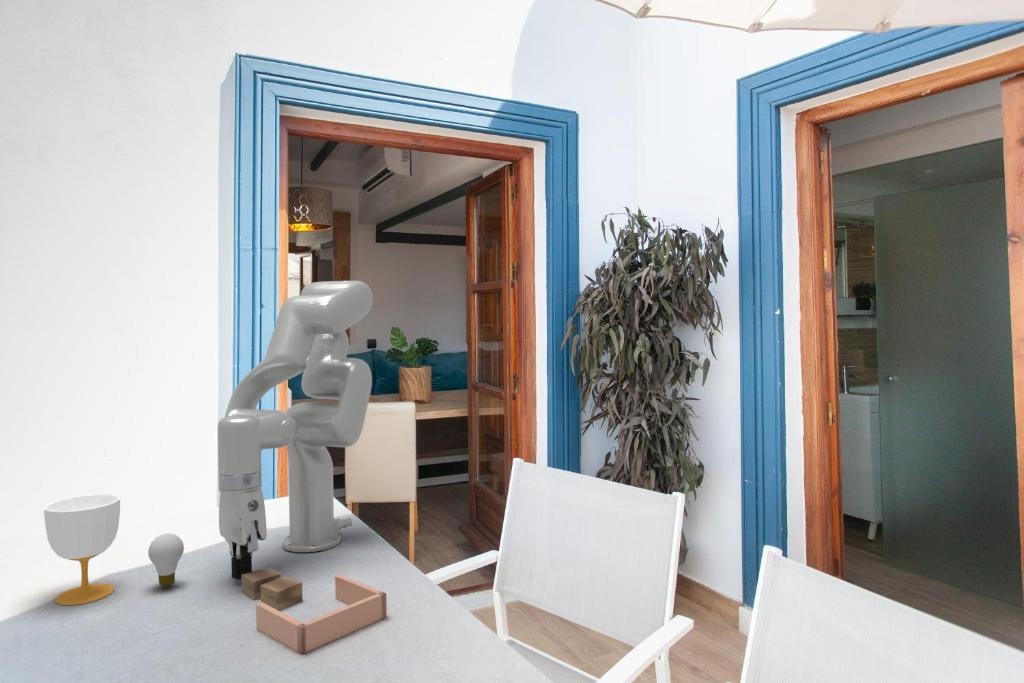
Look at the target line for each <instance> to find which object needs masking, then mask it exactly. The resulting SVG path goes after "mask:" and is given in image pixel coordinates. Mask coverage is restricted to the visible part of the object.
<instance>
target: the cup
mask: <svg viewBox="0 0 1024 683" xmlns="http://www.w3.org/2000/svg"><path fill="white" fill-rule="evenodd" d="M43 514H44V516H43V517H44V525H45V530H46V535H47V536H46V538H47V541H48V543H49V546H50V549H51V550H52V551H53V552H54V554H56V555H57V556H58V557H59V558H62V559H65V560H69V561H77V562H79V563H80V570H81V572H80V573H81V582H80V584H81V585H80V586H76V587H73V588H70V589H67V590H65V591H63V592H61V593H60V594H58V595H57V596H56V597H55V603H56V604H58V605H61V606H77V605H84V604H89V603H93V602H96V601H98V600H99V601H100V600H102V599H104V598H106V597H109V595H111V594H112V593H113V592H114V591H115V589H114V586H113V585H111V584H109V583H94V584H93V583H91V584H89V582H90V581H89V573H88V572H89V561H90V559H93V558H96V557H98V556H99V555H101V554H103V553H104V552H106V550H107V549H109V548H110V547H111V545H112V544H113V542H114V540H115V539H116V538H117V537H116V536H117V535H118V531H119V524H120V515H121V498H120V496H119V495H117V494H113V493H111V494H110V493H97V494H95V493H94V494H85V495H83V494H82V495H76V496H71V497H67V498H61V499H58V500H55V501H52V502H49V503H47V504H46V505H44V506H43Z"/></svg>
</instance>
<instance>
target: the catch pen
mask: <svg viewBox="0 0 1024 683" xmlns="http://www.w3.org/2000/svg"><path fill="white" fill-rule="evenodd" d="M334 580H335V582H334V584H335V588H334V589H335V590H334V591H335V599H336V600H338V601H341V602H343V603H345V604H347V605H346V606H343V607H341V608H338V609H336V610H333V611H331V612H328V613H326V614H324V615H321V616H318V617H316V618H314V619H311V620H309V621H306V622H304V623H303V622H301V621H299V620H298V619H296V618H293V617H291V616H289V615H288V614H286V613H284V612H282V611H281V610H279V611H278V610H276V609H274V608H272V607H270V606H268V605H266V604H265V603H263V602H261V601H260V602H259V603H256V604H255V620H256V621H255V622H256V623H255V624H256V630H258V631H259V632H262V633H263V634H265V635H266V636H269V637H270V638H272V639H274V640H276V641H277V642H279V643H281V644H282V645H285V646H286V647H288V648H289V649H291V650H292V651H294V652H296V653H298V654H300V655H303V654H306V653H308V652H310V651H312V650H315V649H317V648H319V647H322V646H324V645H326V644H329V643H330V642H331V643H332V642H333V641H335V640H337V639H340V638H342V637H344V636H346V635H348V634H351V633H354V632H356V631H359V630H361V629H362V628H365V627H367V626H369V625H371V624H374V623H376V622H378V621H381V620H383V619H385V618H387V616H388V614H387V593H386V592H384V591H382V590H379V589H377V588H375V587H372V586H370V585H367V584H364V583H362V582H360V581H357V580H355V579H352V578H350V577H347V576H345V575H342V574H338V575H335V576H334Z"/></svg>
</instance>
